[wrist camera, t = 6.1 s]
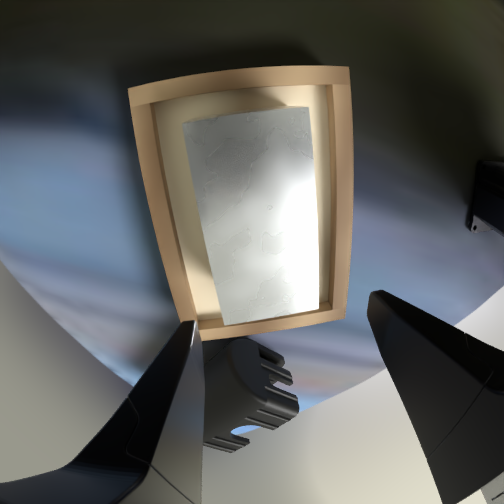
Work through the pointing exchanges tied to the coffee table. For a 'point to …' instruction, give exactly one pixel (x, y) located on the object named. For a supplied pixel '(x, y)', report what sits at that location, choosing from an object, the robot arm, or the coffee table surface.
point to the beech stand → (183, 196)
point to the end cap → (244, 393)
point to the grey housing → (257, 209)
